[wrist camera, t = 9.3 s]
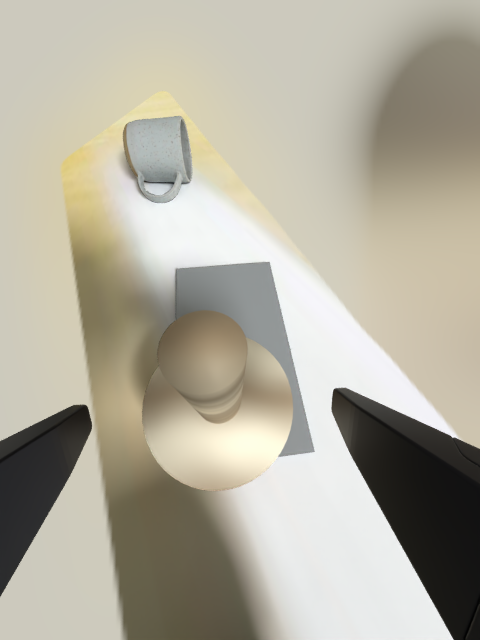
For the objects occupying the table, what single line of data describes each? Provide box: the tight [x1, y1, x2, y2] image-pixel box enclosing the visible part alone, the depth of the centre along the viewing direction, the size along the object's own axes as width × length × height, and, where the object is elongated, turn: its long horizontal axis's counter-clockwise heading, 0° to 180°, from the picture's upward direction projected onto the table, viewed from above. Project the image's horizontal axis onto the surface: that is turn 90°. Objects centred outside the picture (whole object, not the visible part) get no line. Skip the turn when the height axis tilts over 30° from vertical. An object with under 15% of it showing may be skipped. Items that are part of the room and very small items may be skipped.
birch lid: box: [142, 310, 293, 491], centre depth 12 cm, size 10×10×10 cm
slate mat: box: [176, 262, 315, 457], centre depth 23 cm, size 20×11×1 cm, turn 7°
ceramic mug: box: [123, 116, 192, 203], centre depth 33 cm, size 11×8×8 cm
